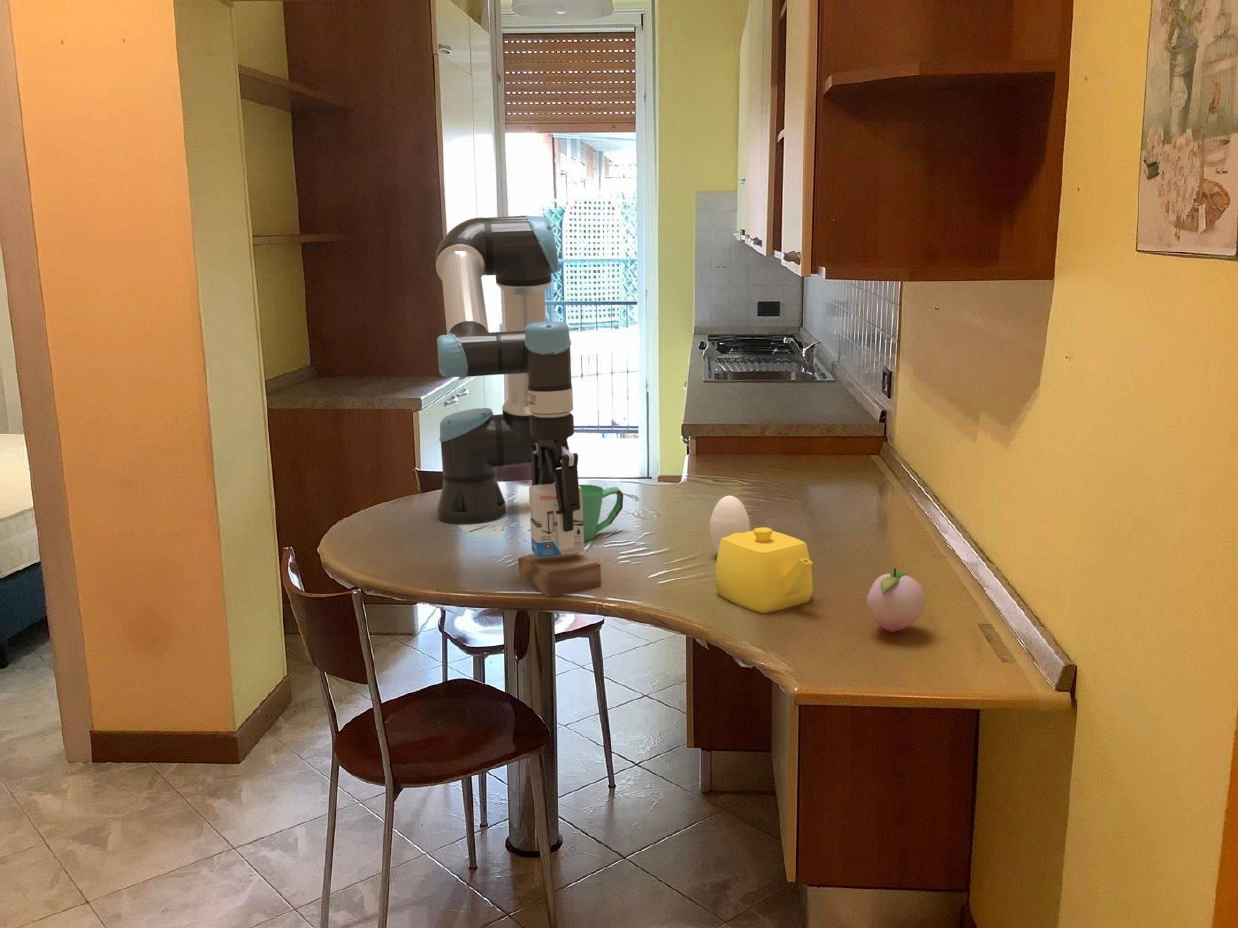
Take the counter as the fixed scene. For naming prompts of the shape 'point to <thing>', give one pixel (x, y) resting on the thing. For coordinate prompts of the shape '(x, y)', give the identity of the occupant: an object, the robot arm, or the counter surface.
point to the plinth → (559, 573)
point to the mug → (597, 508)
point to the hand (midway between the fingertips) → (557, 543)
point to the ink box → (551, 522)
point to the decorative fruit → (896, 600)
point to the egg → (728, 519)
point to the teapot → (764, 570)
